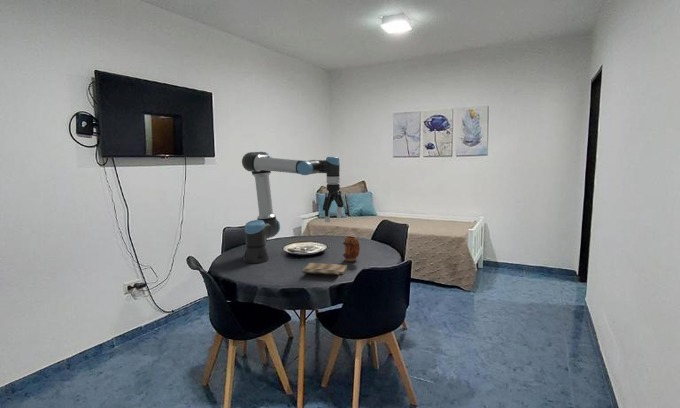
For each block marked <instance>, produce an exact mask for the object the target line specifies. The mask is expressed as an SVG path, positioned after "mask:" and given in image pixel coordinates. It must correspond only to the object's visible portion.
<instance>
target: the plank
mask: <svg viewBox="0 0 680 408" xmlns="http://www.w3.org/2000/svg"><path fill="white" fill-rule="evenodd" d="M302 272H303V273H305V272H306V274H323V275H336V276H337V275H339V271H337V270H323V269H306V268H305V267H304V268H302Z"/></svg>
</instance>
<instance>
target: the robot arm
mask: <svg viewBox="0 0 680 408" xmlns="http://www.w3.org/2000/svg"><path fill="white" fill-rule="evenodd" d="M325 158H326V159H324V160H323V159H322V160H321V159H319V160H318V159H310V160H299V159H298V160H297V159H290V158H289V159H288V158H276V157H272V156H271V154H269V153H268V152H265V151H253V152H252V151H251V152H247V153H245V154H244V155H243V156H242V159H241V164H242V165H241V166H242V167H243V168H244V170H246V171H247V172H250V173H251V175H252V176H253V177H254V181H255V190H256V197H257V205H258V216H257V218H256V219H254V220H250V221H247V222H246V223H245V225H244V233H245V234H244V236H245V237H244V238H245V249H244V253H243V256H242V257H243V262H244V263H245V264H246V263H247V264H261V263H265V262H268V261H269V260H270V255H269V252H268V248H267V246H266V240H269V239H270V238H273V237H275V236H276V235H278V234H279V232H280V231H281V223H280V220H278V219H277V217H276V216H277V215H276V214H274V212H273V211H274V210H273V202H272V200H273V199H272V194H271V192H272V191H271V184H270V182H271V181H270V175H271V173H272V172H277V173H288V174H298V175H301V176H309V175H314V174H325V175H326V191H328V193H327V192H326V193H325V195H324V197H325V198H324V200H323V204H322V205H323V206H322V211H323V212H324V222H325V223H331V211H330V208H331V206H332V203H333V202H335V204H336V218H337V219H342V208H343V207H344V200H343V197H342V191H341V189H340V188H341V187H340V181H341V179H340V171H341V170H340V166H341V165H340V157H339V156H326V157H325Z"/></svg>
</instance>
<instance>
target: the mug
mask: <svg viewBox="0 0 680 408" xmlns="http://www.w3.org/2000/svg"><path fill="white" fill-rule="evenodd" d="M342 243H343V245H344V253H343V254H342V256H343V257H344V260H345V261H346V262H355V261H356V260H357V258H358V256H359V254H360V242H359V240H358V238H356V237H355V236H352V235H349V236H345V237H344V242H342Z"/></svg>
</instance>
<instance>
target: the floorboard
mask: <svg viewBox="0 0 680 408" xmlns="http://www.w3.org/2000/svg"><path fill="white" fill-rule="evenodd" d="M304 268H306V269H323V270H337V271H339V274H343V275H344V274H345V272H346V270H347V269H348V264H336V263H318V262H317V263H316V262H309V263H308V264H307V265H305V267H304ZM304 273H306V272H304ZM306 274H307V273H306Z"/></svg>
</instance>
